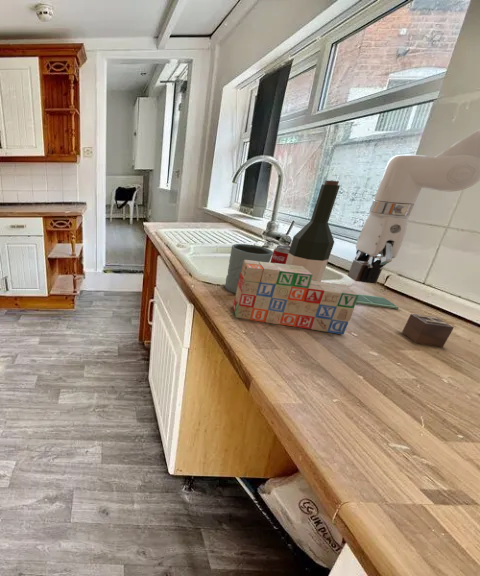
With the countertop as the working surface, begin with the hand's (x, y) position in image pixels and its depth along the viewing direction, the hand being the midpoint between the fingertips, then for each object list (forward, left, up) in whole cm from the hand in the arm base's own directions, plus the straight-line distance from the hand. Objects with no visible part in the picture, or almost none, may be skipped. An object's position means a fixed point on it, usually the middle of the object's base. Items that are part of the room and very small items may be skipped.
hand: (361, 278), depth 82 cm
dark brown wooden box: (-3, +21, -6) cm, 22 cm away
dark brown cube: (0, 0, 0) cm, 0 cm away
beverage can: (+20, -1, -6) cm, 21 cm away
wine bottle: (+18, +9, -6) cm, 21 cm away
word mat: (-3, 0, -6) cm, 7 cm away
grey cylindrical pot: (+30, +5, -6) cm, 31 cm away
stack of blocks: (+23, +22, -6) cm, 33 cm away
